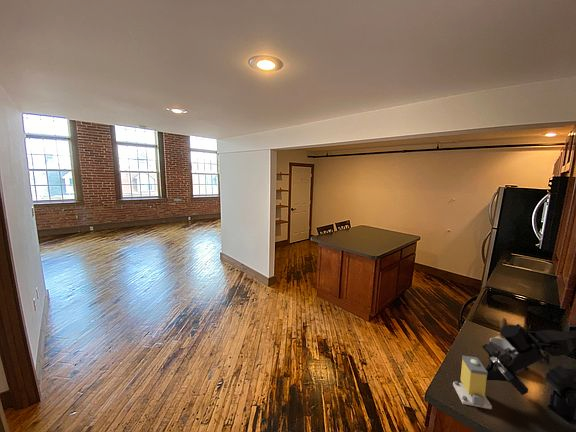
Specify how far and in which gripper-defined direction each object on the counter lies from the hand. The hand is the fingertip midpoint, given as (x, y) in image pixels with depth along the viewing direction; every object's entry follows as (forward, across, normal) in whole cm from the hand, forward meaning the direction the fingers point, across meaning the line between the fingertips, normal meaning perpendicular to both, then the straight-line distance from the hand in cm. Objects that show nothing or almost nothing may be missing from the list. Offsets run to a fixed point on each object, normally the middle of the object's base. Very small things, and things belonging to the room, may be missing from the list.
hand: (481, 378), depth 92 cm
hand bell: (-11, -34, +22) cm, 42 cm away
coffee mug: (-6, -22, +17) cm, 28 cm away
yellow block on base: (+6, 0, +2) cm, 6 cm away
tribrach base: (+8, 0, +4) cm, 9 cm away
